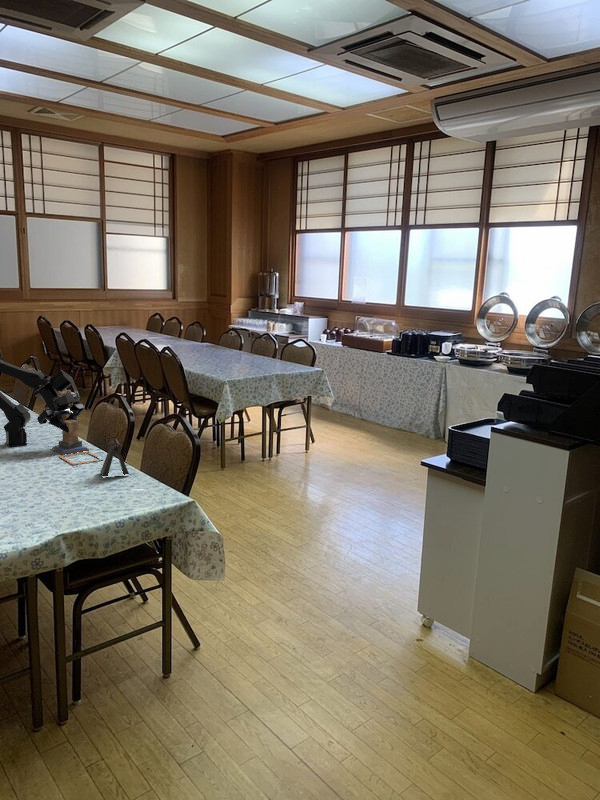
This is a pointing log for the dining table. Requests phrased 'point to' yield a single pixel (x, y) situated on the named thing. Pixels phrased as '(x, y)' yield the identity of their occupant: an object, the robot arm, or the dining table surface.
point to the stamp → (70, 436)
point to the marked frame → (76, 454)
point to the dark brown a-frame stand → (109, 458)
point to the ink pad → (69, 451)
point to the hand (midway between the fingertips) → (73, 430)
